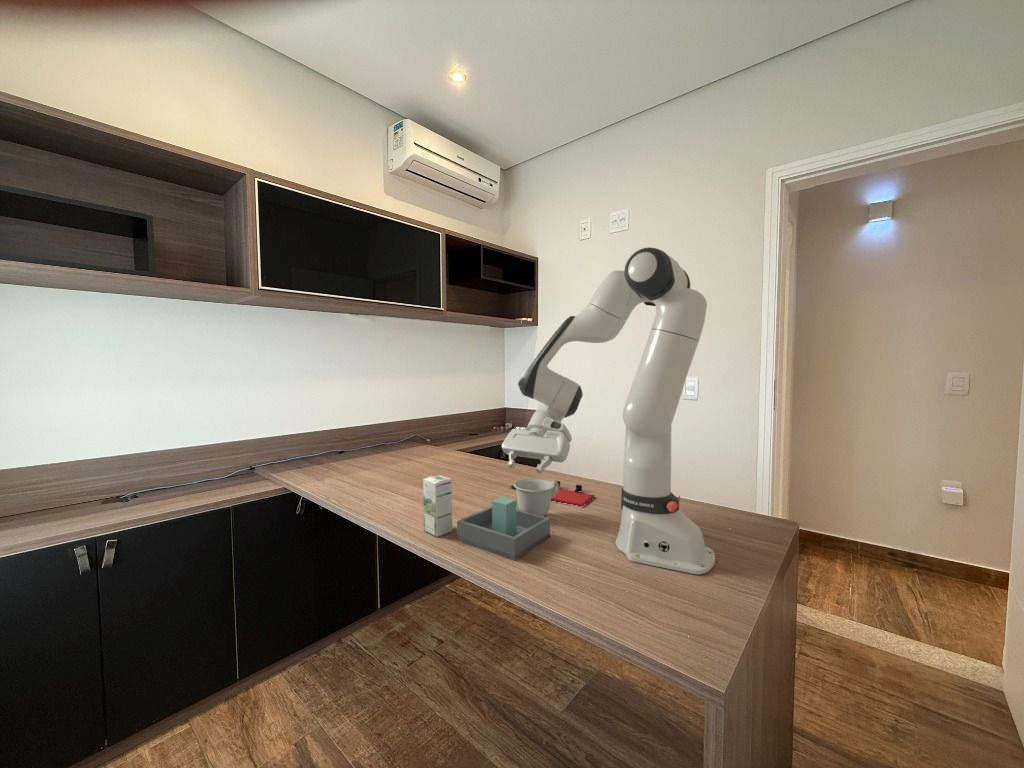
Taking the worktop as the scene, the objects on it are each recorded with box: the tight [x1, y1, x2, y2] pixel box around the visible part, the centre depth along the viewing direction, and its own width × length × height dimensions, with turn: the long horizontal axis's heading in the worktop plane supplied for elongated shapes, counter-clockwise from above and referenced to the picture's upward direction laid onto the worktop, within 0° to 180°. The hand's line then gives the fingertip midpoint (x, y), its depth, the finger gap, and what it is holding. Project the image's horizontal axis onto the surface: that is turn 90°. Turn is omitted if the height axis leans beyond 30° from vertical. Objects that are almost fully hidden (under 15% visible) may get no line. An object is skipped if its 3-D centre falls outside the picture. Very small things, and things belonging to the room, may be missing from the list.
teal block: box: [491, 496, 518, 536], centre depth 104 cm, size 4×4×9 cm
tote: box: [456, 505, 551, 561], centre depth 104 cm, size 18×16×5 cm
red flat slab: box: [509, 480, 596, 507], centre depth 142 cm, size 30×3×15 cm
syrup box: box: [422, 474, 453, 538], centre depth 108 cm, size 6×6×14 cm
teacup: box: [513, 478, 560, 517], centre depth 119 cm, size 12×15×10 cm
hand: (524, 469), depth 110 cm, fingers open, 8 cm apart
